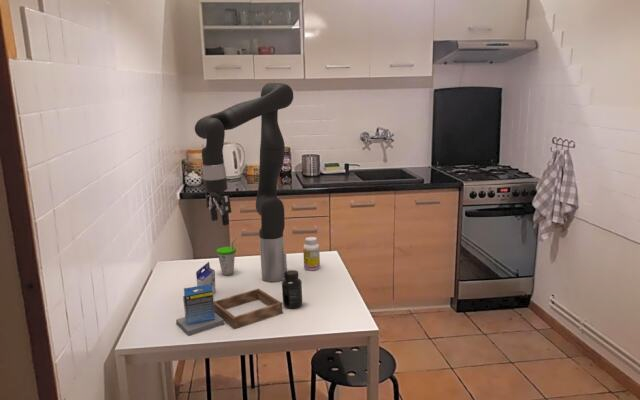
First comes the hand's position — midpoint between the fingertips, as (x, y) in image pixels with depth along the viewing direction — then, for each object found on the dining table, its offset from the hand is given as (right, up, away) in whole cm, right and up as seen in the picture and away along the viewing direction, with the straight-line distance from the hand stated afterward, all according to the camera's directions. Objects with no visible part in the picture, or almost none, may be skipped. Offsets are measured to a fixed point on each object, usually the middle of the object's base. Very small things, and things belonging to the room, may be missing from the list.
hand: (220, 222), depth 176 cm
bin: (+10, -30, -6) cm, 32 cm away
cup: (-3, -22, +30) cm, 37 cm away
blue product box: (-4, -31, -14) cm, 34 cm away
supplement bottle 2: (+31, -21, +34) cm, 50 cm away
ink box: (-6, -28, +8) cm, 29 cm away
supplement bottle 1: (+25, -29, -1) cm, 38 cm away
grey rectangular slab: (-4, -32, -13) cm, 35 cm away
